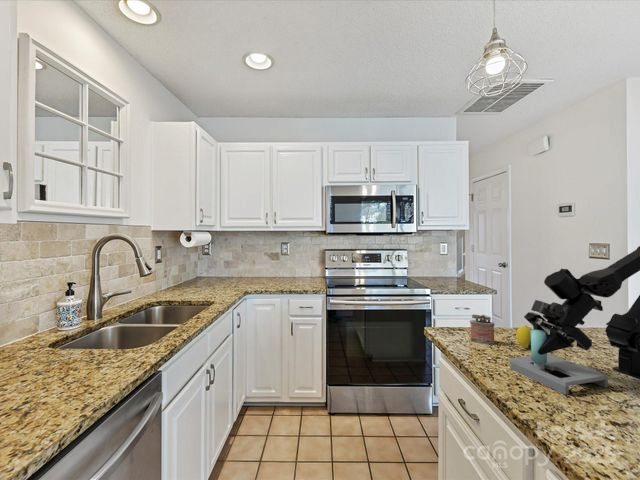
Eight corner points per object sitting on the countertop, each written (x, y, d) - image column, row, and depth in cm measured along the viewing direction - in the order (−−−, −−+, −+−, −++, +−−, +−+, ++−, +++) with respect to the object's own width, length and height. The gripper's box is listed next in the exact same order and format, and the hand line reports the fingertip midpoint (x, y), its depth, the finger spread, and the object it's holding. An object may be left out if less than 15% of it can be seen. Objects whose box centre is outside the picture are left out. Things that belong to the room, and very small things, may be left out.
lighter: (495, 342, 115) (494, 315, 115) (494, 345, 112) (493, 317, 112) (470, 339, 119) (470, 312, 119) (469, 341, 116) (469, 314, 116)
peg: (538, 370, 90) (537, 328, 90) (553, 376, 86) (552, 333, 86) (526, 372, 89) (525, 330, 89) (540, 379, 84) (539, 334, 84)
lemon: (517, 344, 112) (517, 322, 112) (536, 347, 108) (535, 324, 108) (515, 349, 108) (514, 325, 108) (534, 352, 104) (534, 328, 104)
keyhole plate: (547, 363, 95) (547, 353, 95) (607, 386, 80) (607, 375, 80) (510, 368, 92) (510, 358, 92) (565, 394, 76) (565, 382, 76)
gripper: (529, 285, 96) (494, 322, 97) (579, 296, 78) (535, 341, 78) (555, 310, 96) (520, 347, 96) (612, 327, 78) (568, 372, 78)
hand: (534, 351), depth 87 cm, fingers closed on peg, 4 cm apart
